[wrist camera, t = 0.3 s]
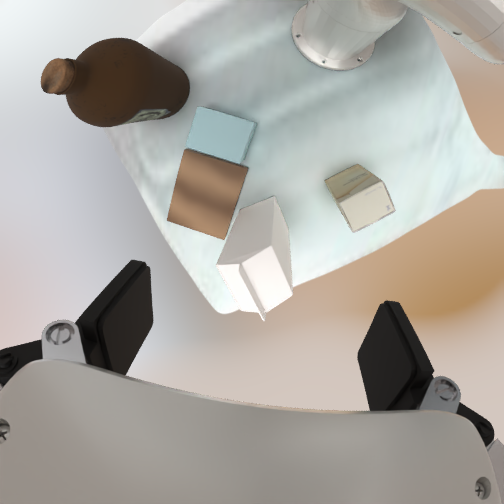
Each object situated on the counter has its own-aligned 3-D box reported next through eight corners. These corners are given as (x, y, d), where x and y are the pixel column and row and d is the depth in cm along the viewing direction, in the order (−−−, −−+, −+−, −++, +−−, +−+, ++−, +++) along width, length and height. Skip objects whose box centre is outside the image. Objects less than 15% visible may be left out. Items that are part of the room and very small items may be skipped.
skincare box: (357, 163, 40) (384, 178, 29) (369, 188, 42) (397, 211, 31) (322, 181, 42) (337, 202, 31) (335, 205, 43) (353, 234, 33)
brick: (206, 107, 39) (197, 106, 34) (257, 123, 39) (254, 123, 35) (195, 144, 41) (185, 146, 37) (243, 159, 42) (239, 164, 37)
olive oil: (133, 65, 36) (20, 42, 13) (194, 56, 35) (107, 1, 13) (132, 125, 40) (17, 145, 18) (193, 120, 40) (99, 125, 17)
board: (187, 148, 42) (184, 149, 40) (248, 167, 42) (247, 169, 41) (169, 217, 47) (166, 220, 46) (225, 236, 47) (224, 239, 46)
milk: (254, 241, 47) (235, 331, 28) (239, 208, 45) (206, 282, 25) (289, 228, 46) (294, 314, 26) (275, 194, 44) (270, 260, 24)
